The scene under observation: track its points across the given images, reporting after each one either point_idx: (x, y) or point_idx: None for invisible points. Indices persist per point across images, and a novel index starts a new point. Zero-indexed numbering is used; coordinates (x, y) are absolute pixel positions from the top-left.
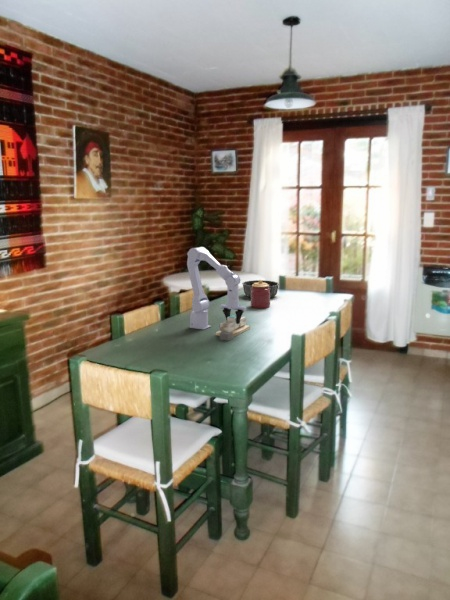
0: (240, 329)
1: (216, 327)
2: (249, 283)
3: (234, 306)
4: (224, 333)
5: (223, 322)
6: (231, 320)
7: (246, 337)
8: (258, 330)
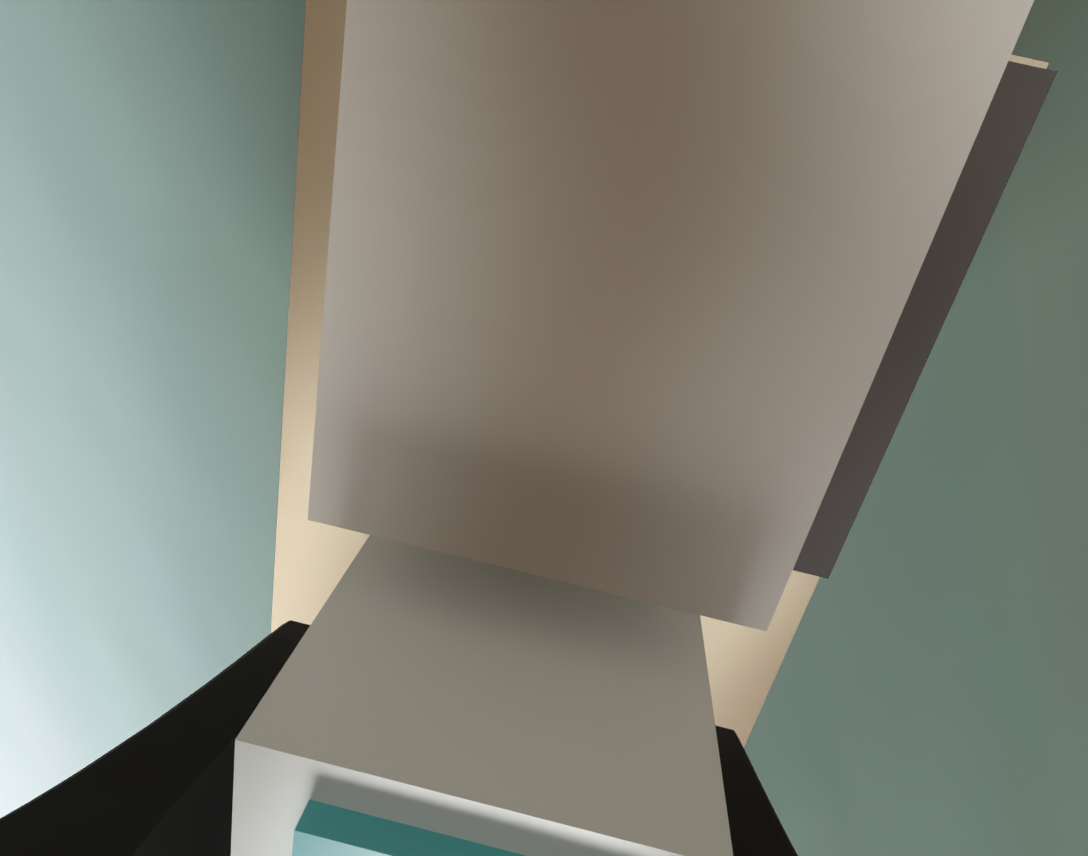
0: (333, 580)
1: (1045, 808)
2: None
3: None
4: None
5: (846, 392)
6: (470, 672)
7: (5, 100)
8: (83, 717)
